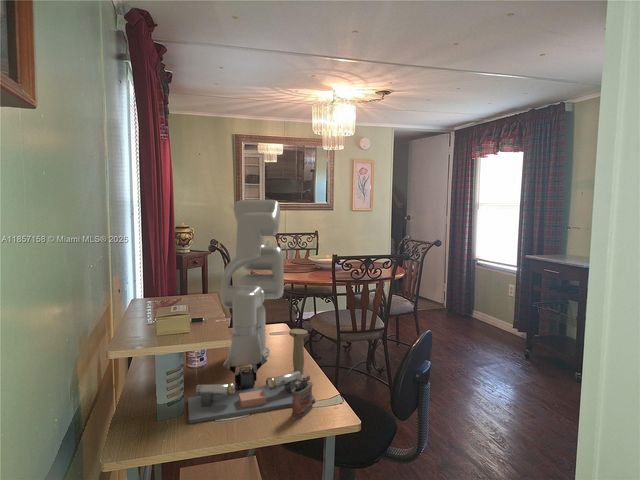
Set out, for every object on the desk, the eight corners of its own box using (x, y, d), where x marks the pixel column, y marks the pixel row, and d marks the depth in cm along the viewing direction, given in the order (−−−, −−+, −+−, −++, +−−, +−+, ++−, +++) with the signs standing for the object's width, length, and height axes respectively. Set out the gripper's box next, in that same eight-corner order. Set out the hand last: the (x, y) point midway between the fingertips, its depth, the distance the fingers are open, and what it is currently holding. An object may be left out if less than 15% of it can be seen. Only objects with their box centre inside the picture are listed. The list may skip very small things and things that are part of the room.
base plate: (188, 401, 124) (187, 391, 124) (302, 383, 136) (302, 375, 135) (189, 423, 112) (188, 413, 111) (315, 402, 123) (315, 392, 123)
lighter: (298, 420, 114) (298, 385, 113) (289, 416, 115) (288, 382, 114) (315, 407, 120) (315, 374, 119) (305, 404, 122) (305, 372, 121)
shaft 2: (271, 402, 123) (271, 381, 122) (265, 397, 126) (265, 376, 126) (302, 393, 129) (302, 372, 128) (295, 388, 132) (295, 368, 132)
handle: (303, 377, 140) (303, 334, 139) (287, 374, 143) (286, 332, 141) (309, 372, 145) (309, 330, 143) (293, 368, 147) (293, 328, 146)
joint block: (241, 391, 130) (240, 374, 130) (238, 382, 136) (237, 366, 136) (253, 389, 132) (253, 372, 131) (250, 380, 138) (250, 364, 137)
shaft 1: (235, 402, 123) (235, 380, 123) (233, 409, 119) (233, 386, 119) (198, 403, 123) (198, 381, 122) (195, 410, 119) (195, 387, 118)
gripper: (268, 323, 138) (268, 375, 140) (217, 328, 133) (218, 382, 135) (273, 330, 131) (273, 385, 133) (219, 335, 126) (220, 393, 128)
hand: (245, 383), depth 134 cm, fingers closed on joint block, 4 cm apart
